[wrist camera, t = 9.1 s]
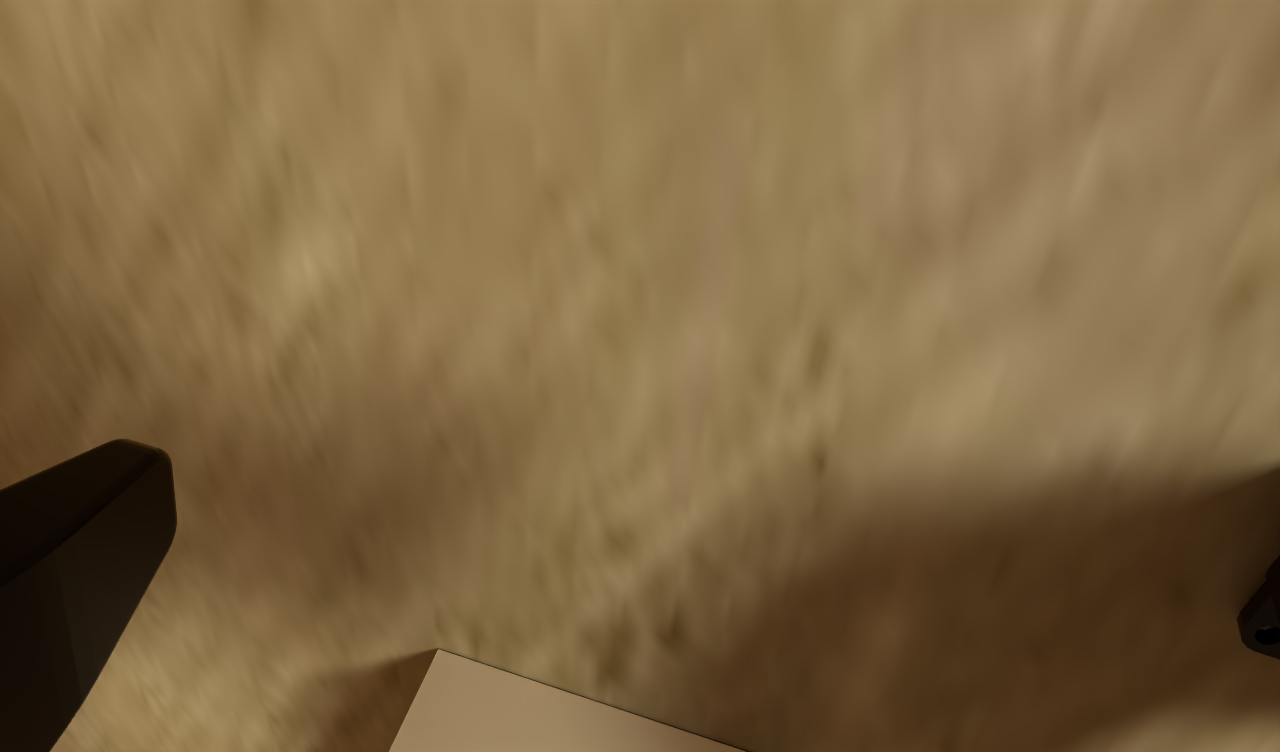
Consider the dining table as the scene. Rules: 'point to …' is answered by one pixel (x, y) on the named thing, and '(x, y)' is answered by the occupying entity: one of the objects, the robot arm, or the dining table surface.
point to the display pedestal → (524, 717)
